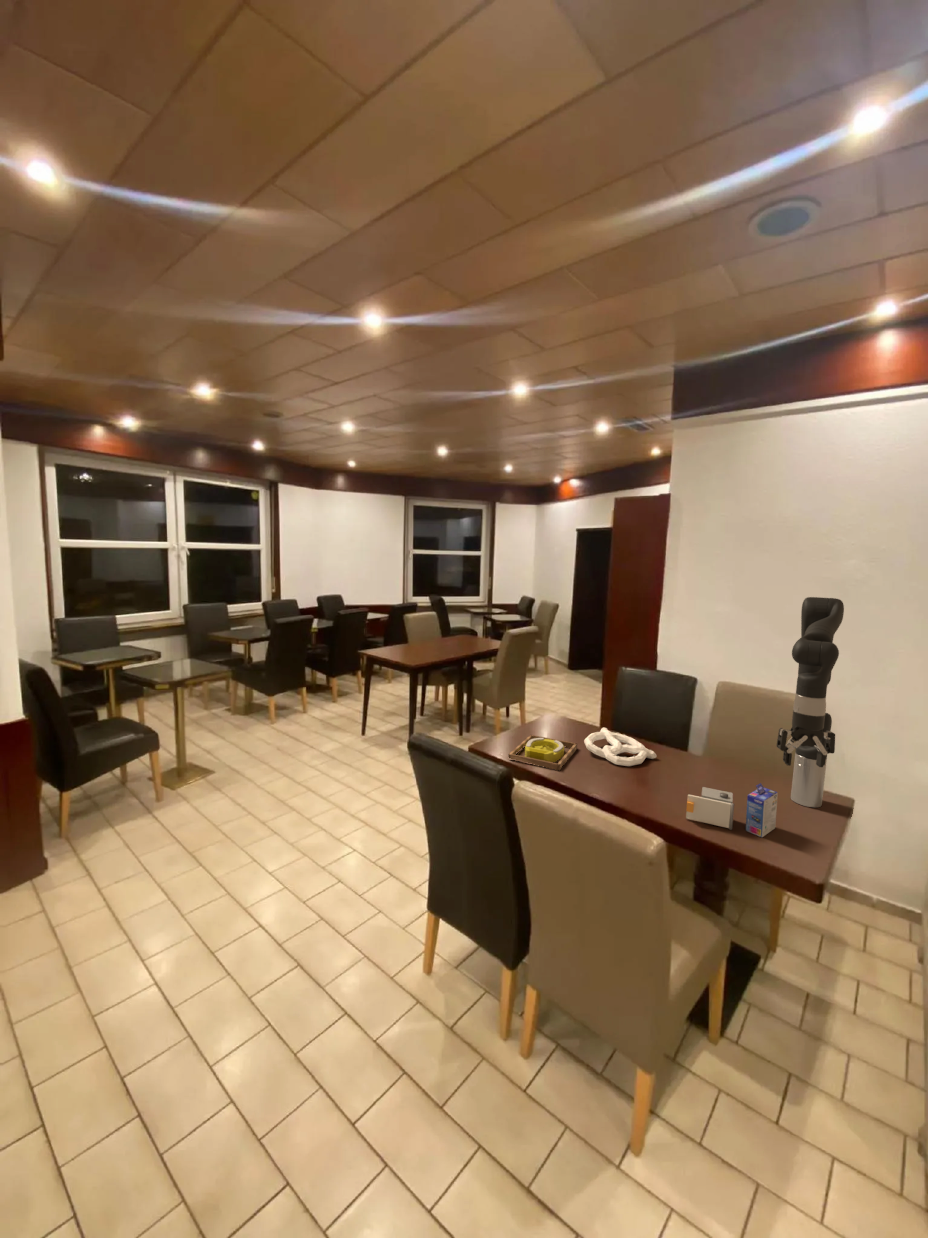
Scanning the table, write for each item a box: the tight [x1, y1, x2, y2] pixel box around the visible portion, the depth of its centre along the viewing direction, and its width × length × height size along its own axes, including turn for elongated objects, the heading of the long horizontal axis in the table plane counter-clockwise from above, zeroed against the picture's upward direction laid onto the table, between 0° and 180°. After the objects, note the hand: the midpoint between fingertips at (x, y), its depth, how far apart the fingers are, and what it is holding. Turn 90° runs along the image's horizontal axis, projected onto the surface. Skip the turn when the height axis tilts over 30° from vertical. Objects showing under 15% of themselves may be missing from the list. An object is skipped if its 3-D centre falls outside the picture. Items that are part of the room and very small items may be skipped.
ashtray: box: [524, 738, 565, 763], centre depth 220 cm, size 16×21×5 cm
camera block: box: [700, 786, 734, 804], centre depth 167 cm, size 7×9×10 cm
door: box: [685, 794, 735, 831], centre depth 163 cm, size 2×14×8 cm, turn 63°
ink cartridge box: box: [745, 782, 779, 838], centre depth 161 cm, size 10×6×14 cm, turn 127°
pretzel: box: [583, 727, 657, 767], centre depth 222 cm, size 28×24×6 cm
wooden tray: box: [508, 734, 578, 771], centre depth 221 cm, size 27×22×2 cm
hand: (803, 765), depth 145 cm, fingers open, 8 cm apart
